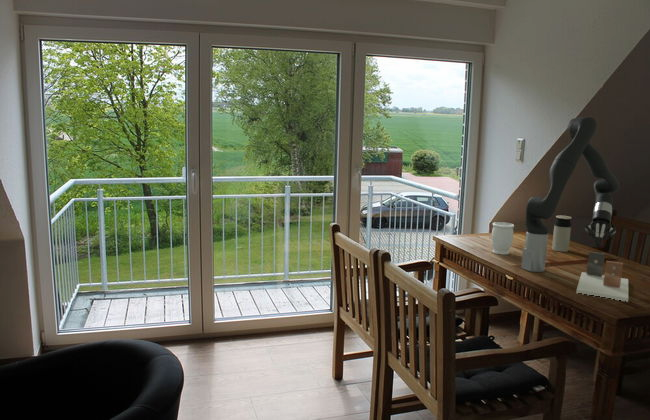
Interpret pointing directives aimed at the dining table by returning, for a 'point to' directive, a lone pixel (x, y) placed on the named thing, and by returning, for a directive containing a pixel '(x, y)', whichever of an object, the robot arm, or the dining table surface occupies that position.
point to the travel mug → (561, 234)
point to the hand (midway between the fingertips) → (598, 245)
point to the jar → (502, 237)
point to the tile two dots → (613, 274)
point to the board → (602, 287)
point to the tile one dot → (595, 263)
